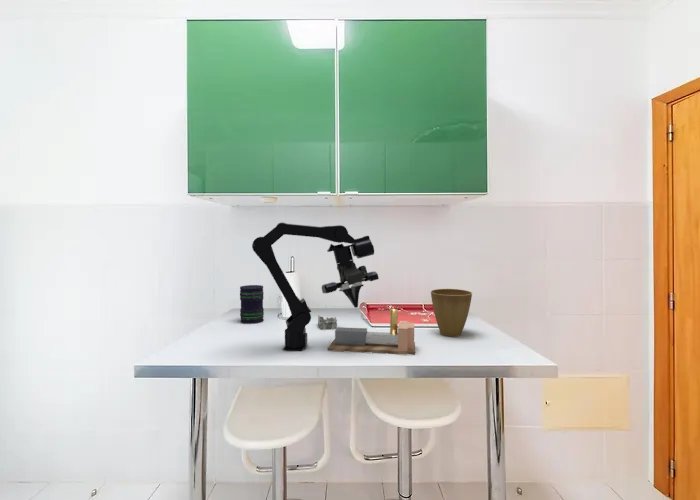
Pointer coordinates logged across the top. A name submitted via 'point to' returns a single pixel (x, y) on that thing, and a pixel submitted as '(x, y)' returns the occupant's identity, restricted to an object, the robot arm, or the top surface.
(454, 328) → the plant pot
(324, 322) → the grey castle model
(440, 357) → the top surface
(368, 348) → the walnut board
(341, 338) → the grey rectangular block
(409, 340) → the terracotta socket
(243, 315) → the storage jar
